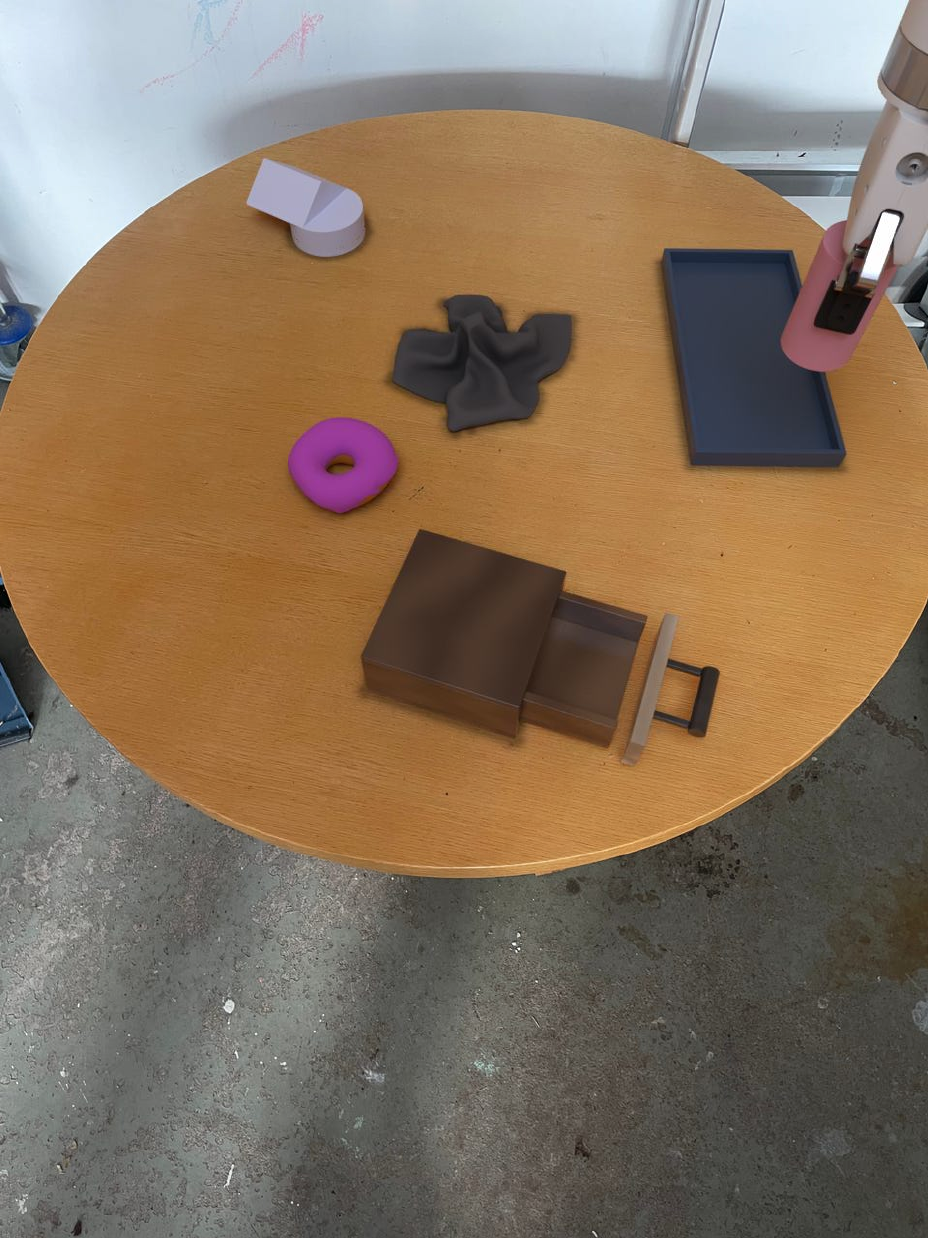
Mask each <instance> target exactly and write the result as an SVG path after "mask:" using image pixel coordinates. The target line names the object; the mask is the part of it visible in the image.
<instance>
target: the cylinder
mask: <svg viewBox="0 0 928 1238" xmlns="http://www.w3.org/2000/svg"><path fill="white" fill-rule="evenodd" d="M846 222H847V219H845V220H841V221H838V222H835V223H833V224H832V225H830V226H829V227H828V228H826V230H825V231H824V233H823V235H822V238H821V240H820V243H819V245H818V247H817V250H816V252H815V254H814V256H813V260H812V262H811V264H810V267H809V269H808V271H807V273H806V276H805V278H804V281H803V283H802V288H801V290H800V293H799V295H798V298H797V300H796V302H795V305H794V307H793V310H792V312H791V314H790V317H789V319H788V322H787V324H786V326H785V329H784V331H783V334H782V336H781V347H782V349H783V351H784V353H785V355H786V356H787V357H788V358H789V359H790V360H791V361H793V362H794V363H795V364H797V365H799V366H801V367H803V368H806V369H809V370H813V371H820V372H825V373H826V372H827V373H828V372H833V371H837V370H839V369H841V368H843V367H845V366H846V365H847V364H848V363H849V362H850V361H851V360H852V359H851V358H852V357H853V355H854V353H855V351H856V349H857V348H858V345H859V343H860V341H861V339H862V338H863V336H864V334H865V331H866V330H867V328H868V326H869V324H870V322H871V320H872V318H873V316H874V314H875V312H876V311H877V309H878V307H879V305H880V303H881V301H882V299H883V297H884V296H885V294H886V291H887V289H888V288H889V286H890V283H891V282H892V281H893V278H894V276H895V274H896V272H897V270H898V268H899V267H900V265H897V264H893V259H894V248H893V250H892V252H891V255H890V257H889V260H888V262H887V264H886V267H885V269H884V271H883V274H882V276H881V278H880V281H879V283H878V285H877V288H876V290H875V294H874V296H873V298H872V300H871V302H870V304H869V306H868V308H867V310H866V312H865V314H864V316H863V318H862V320H861V322H860V324H859V325H858V327H857V329H856V331H855V333H854V334H851V335H848V334H844V333H839V332H835V331H831V330H826V329H822V328H817V327H815V326H814V319H815V316H816V314H817V312H818V310H819V308H820V305H821V303H822V301H823V299H824V296H825V294H826V292H827V290H828V288H829V285H830V283H831V281H832V280H834V281H836V280H837V277H838V275H839V272H840V270H841V267H842V265H843V262H844V259H845V257H846V254H847V253H846V252H845V250H844V248H843V239H844V233H845V227H846ZM869 242H870V240H867V239H865V240H863V241H862V242H861V243H860V244H858V245H860V246H865V247H868V245H869ZM863 260H864V259H861V258H857V257H855V259H854V262H853V264H852V267H851V269H850V272H849V273H851V272H852V271H857V272H858V270H859V269H860V267H861V265H862V262H863Z"/></svg>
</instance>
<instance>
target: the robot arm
mask: <svg viewBox="0 0 928 1238" xmlns="http://www.w3.org/2000/svg"><path fill="white" fill-rule="evenodd" d="M893 36H894V37H893V38H892V41H891V43H890V46H889V48H888V51H887V53H886V56H885V58H884V60H883V63H882V67H881V68H880V71H879V72H878V75H877V87H878V90H879V91H880V94H881V95H882V97H883V98H884V99H885V100H886V101H885V104H884V106H883V108H882V110H881V113H880V115H879V117H878V119H877V122H876V124H875V126H874V129H873V131H872V133H871V136H870V139H869V141H868V143H867V146H866V148H865V151H864V154H863V157H862V159H861V162H860V165H859V168H858V171H857V174H856V177H855V180H854V184H853V187H852V192H851V197H850V202H849V206H848V212H847V217H846V220H847V222H846V227H845V233H844V239H843V248H844V250H845V252H846V253H847V254H846V257H845V259H844V262H843V265H842V267H841V270H840V272H839V275H838V277H837V280H836V281H834V280H832V281H831V283H830V285H829V288H828V290H827V292H826V294H825V296H824V299H823V301H822V303H821V305H820V308H819V310H818V312H817V314H816V316H815V319H814V326H815V327H817V328H822V329H826V330H831V331H835V332H839V333H844V334H848V335H851V334H854V333H855V331H856V329H857V327H858V325H859V324H860V322H861V320H862V318H863V316H864V314H865V312H866V310H867V308H868V306H869V304H870V302H871V300H872V298H873V296H874V294H875V290H876V288H877V285H878V283H879V281H880V278H881V276H882V274H883V271H884V269H885V267H886V264H887V262H888V260H889V257H890V255H891V252H892V250H893V248H894V259H893V264H897V265H899V267H901V268H904V267H907V266H908V265H909V264H910V263H912V262H913V260H914V258H915V256H916V254H917V252H918V250H919V248H920V246H921V244H922V242H923V239H924V237H925V235H926V233H927V231H928V0H908V2H907V4H906V7H905V9H904V12H903V14H902V16H901V20H900V21H899V23H898V26H897V29H896V30H895V34H894V35H893ZM865 239H867V240H870V242H869V245H868V247H865V246H860V245H858V244H860V243H861V242H862V241H863V240H865ZM855 257H857V258H861V259H864V260H863V262H862V265H861V267H860V269H859V270H858V272H857V271H852V272H851V273H849V272H850V269H851V267H852V264H853V262H854V259H855Z"/></svg>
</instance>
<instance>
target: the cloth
mask: <svg viewBox="0 0 928 1238" xmlns="http://www.w3.org/2000/svg"><path fill="white" fill-rule="evenodd" d="M442 304H443V306H444V307H445V308H447V326H448V329H449V330H450V332H449V331H438V330H437V331H436V330H433V329H428V328H410V329H407V330H405V331H403V332H402V334H401V337H400V340H399V342H398V344H397V349H396V353H395V357H394V363H393V373H392V375H391V377H390V379H391V381H392V382H393V383H395V384H397V385H398V386H399V387H402V388H403V389H405V390H407V391H409V392H411V393H412V394H414V395H416V396H418V397H421V398H424V399H426V400H429V401H431V402H435V403H440V404H445V405H446V411H447V418H446V422H445V426H447V428H448V429H449V430H450V431H451V432H457V431H460V430H466V429H469V428H474V427H479V426H484V425H489V424H492V423H498V422H504V421H512V420H519V419H527V418H529V417H530V416H532V415H533V413H534V411H535V409H536V408H537V405H538V403H539V400H540V391H539V386H538V385H539V382H540V381H541V380H543V379H545V378H546V377H548V376H550V375H552V374H554V373H556V372H557V371H558V370H560V369H561V368H562V367H563V366H564V364H565V363H566V361H567V358H568V355H569V353H570V349H571V345H572V344H571V343H572V315H570V314H563V313H537V314H533V315H531V316H530V318H529V319H527V320H525V321H524V322H523V323H522V324H521V325H520V326H519V328H518V330H517V331H508V329H507V324H506V322H505V320H504V318H503V311H502V308H501V306H499V305H496V303H495V302H494V299H492V298H491V297H489V296H487V295H483V294H471V293H469V294H468V293H467V294H455V295H453V296H451V297H449V298H447V299H445V300H443V303H442Z"/></svg>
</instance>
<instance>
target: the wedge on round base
mask: <svg viewBox="0 0 928 1238" xmlns="http://www.w3.org/2000/svg"><path fill="white" fill-rule="evenodd" d="M245 205H247V206H249V207H251V208H254V209H257V210H259V211H261V212H264V213H266V214H268V215H270V216H273V217H275V218H278V219H280V220H282V221H285V222H287V223H288V224H289V226H290V233H291V237H292V241H293V243H294V244H295V246H296V247H297V248H298V249H299V250H300V251H302V252H304V253H305V254H309V255H311V256H316V257H324V258H329V257H331V258H332V257H338V256H342V255H344V254H348V253H349V252H352V251H354V250H355V249H356V248H358V247H359V246H360V245H361V244H362V242H363V241H364V239H365V237H366V222H365V212H364V204H363V201H362V198H361V197H360V196H359V194H357V193H356V192H355V191H353V190H352V189H350V188H348V187H345V186H344V185H341V184H338V183H336V182H334V181H331V180H329V179H326V178H323V177H321V176H320V175H317V174H314V173H311V172H310V171H307V170H304V169H301V168H299V167H297V166H294V165H291V164H288V163H283V162H280V161H277V160H273V159H269V158H266V157H264V158H263V159H262V162H261V164H260V167H259V169H258V172H257V175H256V177H255V180H254V182H253V184H252V187H251V190H250V193H249V195H248V198H247V199H246V203H245ZM364 226H365V227H364ZM363 230H364V231H363ZM359 236H360V237H359ZM294 237H295V238H294ZM358 237H359V238H358ZM357 238H358V239H357ZM296 239H297V240H296ZM356 239H357V240H356ZM298 241H299V242H298ZM351 242H353V243H351ZM346 245H347V246H346ZM343 246H344V247H343ZM340 247H341V248H340ZM336 248H337V249H336Z"/></svg>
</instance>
